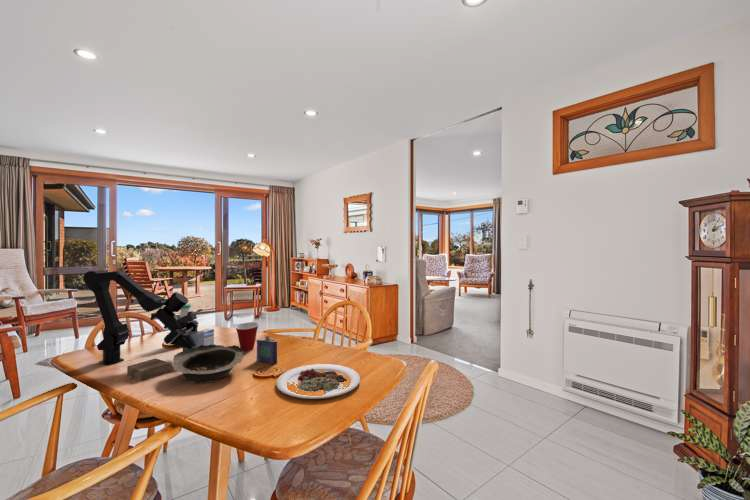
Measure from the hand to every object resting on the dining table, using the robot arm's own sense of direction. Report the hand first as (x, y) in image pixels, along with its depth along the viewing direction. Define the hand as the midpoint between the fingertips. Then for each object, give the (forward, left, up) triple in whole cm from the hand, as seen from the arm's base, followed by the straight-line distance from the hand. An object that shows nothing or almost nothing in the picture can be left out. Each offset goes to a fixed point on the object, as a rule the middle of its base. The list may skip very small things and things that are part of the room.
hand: (196, 345), depth 140 cm
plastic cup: (+7, +21, -7) cm, 24 cm away
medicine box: (-12, +13, -7) cm, 19 cm away
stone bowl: (+19, -9, -7) cm, 22 cm away
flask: (+28, +12, -7) cm, 31 cm away
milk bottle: (-26, +13, -7) cm, 30 cm away
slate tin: (-1, -1, -7) cm, 7 cm away
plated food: (+60, +4, -7) cm, 61 cm away
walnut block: (-3, -18, -7) cm, 19 cm away
